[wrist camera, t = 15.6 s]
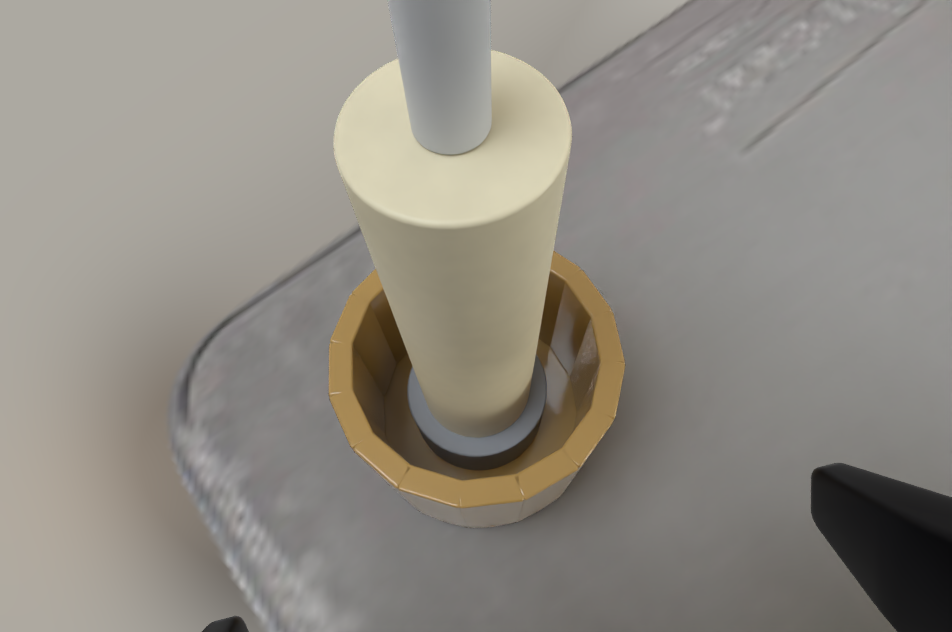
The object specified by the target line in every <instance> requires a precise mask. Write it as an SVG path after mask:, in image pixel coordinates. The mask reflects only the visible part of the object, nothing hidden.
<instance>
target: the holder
mask: <svg viewBox="0 0 952 632" xmlns="http://www.w3.org/2000/svg"><path fill="white" fill-rule="evenodd" d="M536 355H537V356H538V358H539V360H540V362H541V364H542V366H543V369H544V372H545V376H546V382H547V397H546V403H545V407H544V411H543V415H542V418H541V422H540V426H539V429H538V431H537V434H536V436H535V438H534V439H533V441H532V443H531V444H530V445H529V446H528V448H527V449H526V450H525V451H524V452H523V453H522V454H521V455H520V456H518V457H517V458H516V459H514V460H513V461H511V462H509V463H507V464H505V465H503V466H500V467H497V468H493V469H488V470H469V469H463V468H460V467H457V466H454V465H452V464H450V463H448V462H446V461H445V460H443V459H441V458H440V457H439V456H438V455H436V454H435V453H434V452H433V451H432V450H431V449H430V447H429V446H428V445H427V443H426V442H425V440H424V439H423V437H422V435H421V433H420V431H419V429H418V427H417V425H416V422H415V420H414V418H413V416H412V414H411V411H410V408H409V403H408V396H407V386H408V379H409V374H410V371H411V368H412V363H411V361H410V358H409V355H408V353H407V350H406V347H405V345H404V342H403V339H402V337H401V334H400V331H399V329H398V326H397V323H396V321H395V318H394V316H393V313H392V310H391V308H390V305H389V302H388V300H387V297H386V294H385V292H384V289H383V286H382V284H381V281H380V278H379V276H378V273H377V271H376V269H375V270H374V271H373V272H372V273H371V274H370V275H369V276H368V277H367V278H366V279H365V280H364V281H363V282H362V283H361V284H360V285H359V286H358V287H357V288H356V289H355V290H354V291H353V292H352V295H350V296H349V298H348V301H347V303H346V305H345V307H344V310H343V312H342V314H341V317H340V319H339V321H338V323H337V326H336V328H335V330H334V332H333V335H332V337H331V339H330V344H329V396H330V397H329V400H330V402H331V404H332V406H333V409H334V411H335V413H336V415H337V418H338V420H339V422H340V424H341V427H342V429H343V431H344V433H345V436H346V438H347V440H348V442H349V445H350V447H351V448H352V449H353V450H354V452H355V453H356V454H357V455H358V456H359V457H360V458H361V459H362V460H363V461H364V462H365V463H366V464H367V465H368V466H370V467H371V468H372V469H373V470H374V471H375V472H376V473H377V474H378V475H379V476H380V477H381V478H382V479H383V480H384V481H385V482H386V483H387V484H388V485H390V486H391V487H392V488H393V489H394V490H395V491H396V492H398V493H399V494H400V495H401V496H402V497H403V498H404V499H405V500H406V501H408V502H409V503H410V504H411V505H412V506H413V507H415V508H416V509H417V510H418V511H419V512H421V513H422V514H424V515H428V516H431V517H433V518H436V519H438V520H441V521H443V522H446V523H450V524H454V525H458V526H463V527H466V528H468V527H469V528H474V527H475V528H481V527H495V526H501V525H506V524H510V523H516V522H517V521H521V520H522V519H525V518H527V517H529V516H531V515H533V514H535V513H537V512H538V511H540V510H541V509H543V508H544V507H546V506H547V505H548V504H550V503H551V502H553V501H555V500H556V499H558V498H559V496H561V495H562V494H563V492H564V491H565V489H566V488H567V487H568V485H569V484H570V482H571V481H572V480H573V478H574V477H575V475H576V474H577V473H578V471H579V470H580V468H581V467H582V466H583V464H584V463H585V461H586V460H587V459H588V457H589V456H590V454H591V453H592V452H593V450H594V449H595V447H596V446H597V444H598V443H599V442H600V440H601V439H602V437H603V436H604V435H605V433H606V432H607V430H608V429H609V427H610V426H611V425H612V423H613V421H614V419H615V417H616V412H617V407H618V402H619V396H620V391H621V386H622V381H623V376H624V370H625V364H624V363H625V360H624V355H623V351H622V347H621V343H620V339H619V335H618V330H617V326H616V322H615V318H614V314H613V312H612V310H611V308H610V307H609V305H608V304H607V302H606V301H605V300H604V298H603V297H602V296H601V294H600V293H599V292H598V290H597V289H596V288H595V286H594V285H593V283H592V282H591V281H590V279H589V278H588V277H587V275H586V274H585V273H584V271H583V270H580V267H578V266H577V265H575V264H574V263H572V262H571V261H569V260H567V259H566V258H564V257H563V256H561V255H560V254H558V253H556V252H555V251H553V256H552V262H551V268H550V273H549V279H548V285H547V291H546V297H545V303H544V309H543V315H542V321H541V327H540V333H539V338H538V344H537V350H536Z"/></svg>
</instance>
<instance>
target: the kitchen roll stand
mask: <svg viewBox="0 0 952 632" xmlns="http://www.w3.org/2000/svg"><path fill="white" fill-rule="evenodd" d="M490 4H491V0H388V6H389V11H390V16H391V22H392V27H393V33H394V37H395V43H396V49H397V54H398V59H396V60H394V61H392V62H390V63H388V64H386V65H384V66H382V67H381V68H379V69H378V70H376V71H375V72H373V73H372V74H371V75H369V76H368V77H367V78H366V79H364V80H363V81H362V82H361V83H360V84H359V85H358V86H357V87H356V88H355V89H354V90H353V92H352V93H351V94H350V96H349V97H348V98H347V100H346V102H345V103H344V105H343V107H342V109H341V111H340V114H339V117H338V119H337V122H336V127H335V132H334V146H333V149H334V155H335V161H336V164H337V167H338V170H339V172H340V175H341V178H342V180H343V183H344V186H345V188H346V191H347V194H348V196H349V199H350V201H351V204H352V207H353V210H354V212H355V215H356V218H357V220H358V223H359V226H360V228H361V231H362V233H363V236H364V239H365V241H366V244H367V247H368V249H369V252H370V255H371V257H372V260H373V263H374V265H375V268H376V271H377V273H378V276H379V278H380V281H381V284H382V286H383V289H384V292H385V294H386V297H387V300H388V302H389V305H390V308H391V310H392V313H393V316H394V318H395V321H396V323H397V326H398V329H399V331H400V334H401V337H402V339H403V342H404V345H405V347H406V350H407V353H408V355H409V358H410V361H411V363H412V368H411V371H410V374H409V379H408V386H407V396H408V403H409V408H410V411H411V414H412V416H413V418H414V420H415V422H416V425H417V427H418V429H419V431H420V433H421V435H422V437H423V439H424V440H425V442H426V443H427V445H428V446H429V447H430V449H431V450H432V451H433V452H434V453H435V454H436V455H438V456H439V457H440V458H441V459H443V460H445V461H446V462H448V463H450V464H452V465H454V466H457V467H460V468H463V469H469V470H488V469H493V468H497V467H500V466H503V465H505V464H507V463H509V462H511V461H513V460H514V459H516V458H517V457H518V456H520V455H521V454H522V453H523V452H524V451H525V450H526V449H527V448H528V446H529V445H530V444H531V443H532V441H533V439H534V438H535V436H536V434H537V431H538V429H539V426H540V422H541V418H542V415H543V411H544V407H545V403H546V397H547V382H546V376H545V372H544V369H543V366H542V364H541V362H540V360H539V358H538V356H537V355H536V350H537V344H538V338H539V333H540V327H541V321H542V315H543V309H544V303H545V297H546V291H547V285H548V279H549V273H550V268H551V262H552V256H553V250H554V244H555V238H556V232H557V226H558V220H559V214H560V208H561V203H562V197H563V191H564V185H565V179H566V173H567V167H568V161H569V155H570V149H571V141H572V128H571V122H570V117H569V113H568V111H567V108H566V106H565V104H564V101H563V99H562V97H561V96H560V94H559V93H558V91H557V89H556V88H555V87H554V86H553V85H552V84H551V83H550V81H549V80H548V79H547V78H546V77H545V76H543V75H542V74H541V73H540V72H539V71H537V70H536V69H534V68H533V67H532V66H530V65H529V64H527V63H525V62H523V61H521V60H519V59H517V58H515V57H512V56H510V55H507V54H504V53H501V52H497V51H494V50H491V5H490Z"/></svg>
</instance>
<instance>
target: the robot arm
mask: <svg viewBox="0 0 952 632" xmlns="http://www.w3.org/2000/svg"><path fill="white" fill-rule="evenodd" d="M811 513H812V517H813V520H814V522H815V524H816V526H817V527H818V529H819V530H820V531H821V533H822V534H823V536H824V537H825V538H826V540H827V541H828V542H829V544H830V545H831V546H832V548H833V549H834V550H835V552H836V553H837V554H838V556H839V557H840V558H841V560H842V561H843V562H844V564H845V565H846V566H847V568H848V569H849V570H850V572H851V573H852V575H853V576H854V577H855V579H856V580H857V581H858V583H859V584H860V585H861V587H862V588H863V589H864V591H865V592H866V593H867V595H868V596H869V597H870V599H871V600H872V601H873V603H874V604H875V605H876V606H877V608H878V609H879V610H880V612H881V613H882V614H883V615H884V617H885V618H886V619H887V620H888V621H889V622H890V624H891V625H892V626H893V627H894V628H895V629H896V631H897V632H952V497H949V496H946V495H942V494H939V493H936V492H933V491H930V490H926V489H923V488H920V487H917V486H914V485H911V484H907V483H904V482H901V481H898V480H895V479H891V478H888V477H885V476H882V475H879V474H875V473H872V472H869V471H866V470H863V469H859V468H856V467H853V466H850V465H847V464H843V463H834V464H830V465H826V466H822V467H818V468H816V469H815V470H814V471H813V473H812V475H811ZM202 632H249V631H248V629H247V627H246V624H245V623H244V621H243V619H242V618H241V617H239V616H233V617H229V618H226V619H221V620H218V621H214V622H212V623H210V624H209V625H208V626H207V627H206V628H205V629H204V630H203V631H202Z"/></svg>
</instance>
